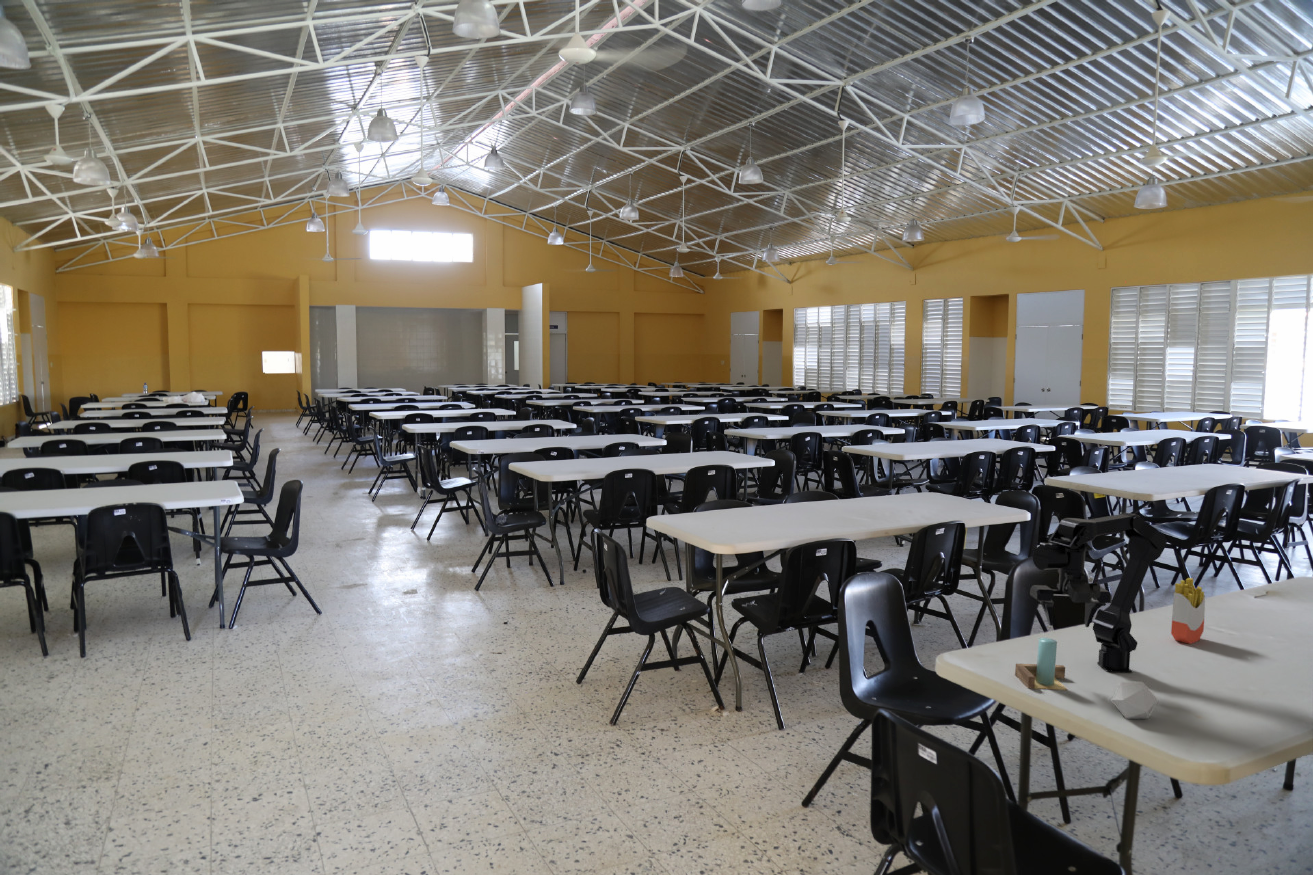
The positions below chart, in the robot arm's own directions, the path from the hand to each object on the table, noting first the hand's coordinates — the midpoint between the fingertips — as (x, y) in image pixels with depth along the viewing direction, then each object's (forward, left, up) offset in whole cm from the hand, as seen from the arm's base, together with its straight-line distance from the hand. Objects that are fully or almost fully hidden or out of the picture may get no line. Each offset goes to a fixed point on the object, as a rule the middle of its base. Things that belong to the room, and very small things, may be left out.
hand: (1068, 626), depth 223 cm
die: (-5, +26, -13) cm, 30 cm away
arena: (+8, +7, -13) cm, 17 cm away
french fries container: (-48, -33, -13) cm, 60 cm away
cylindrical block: (+8, +7, -13) cm, 17 cm away
